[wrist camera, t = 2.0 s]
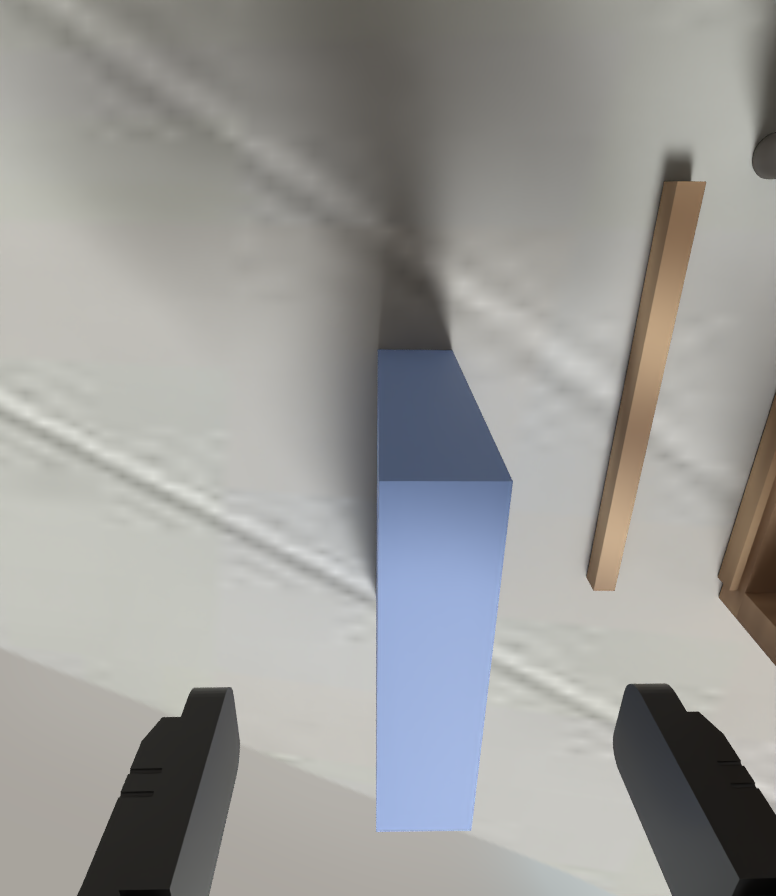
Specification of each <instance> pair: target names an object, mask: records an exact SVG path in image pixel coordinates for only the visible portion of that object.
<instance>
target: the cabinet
mask: <svg viewBox="0 0 776 896" xmlns="http://www.w3.org/2000/svg"><path fill="white" fill-rule="evenodd" d="M753 168H754V171H755V172H756V174H757V175H758V176H759V177H761V178H764V179H776V132H774V133H772V134H769V135H768V136H766V137H765V138H764V139H763V140H762V141H761V142H760V143H759V144H758V146H757V148H756V150H755V152H754V155H753ZM705 186H706V182H695V181H664V185H663V190H662V195H661V200H660V205H659V210H658V216H657V221H656V226H655V231H654V236H653V241H652V246H651V251H650V256H649V261H648V267H647V272H646V277H645V282H644V287H643V292H642V297H641V302H640V307H639V312H638V317H637V323H636V328H635V333H634V338H633V343H632V348H631V353H630V358H629V363H628V368H627V374H626V379H625V384H624V389H623V394H622V399H621V404H620V409H619V414H618V419H617V424H616V430H615V435H614V440H613V445H612V450H611V455H610V460H609V465H608V470H607V475H606V481H605V486H604V491H603V496H602V501H601V506H600V511H599V516H598V521H597V526H596V532H595V537H594V542H593V547H592V552H591V557H590V562H589V567H588V572H587V579H588V581H589V583H590V585H591V587H592V589H593V590H594V591H615V587H616V582H617V578H618V573H619V569H620V564H621V560H622V555H623V551H624V547H625V542H626V538H627V533H628V529H629V524H630V520H631V515H632V511H633V506H634V502H635V498H636V493H637V489H638V484H639V480H640V475H641V471H642V466H643V462H644V457H645V453H646V449H647V444H648V440H649V435H650V431H651V426H652V422H653V417H654V413H655V408H656V404H657V400H658V395H659V391H660V386H661V382H662V377H663V373H664V368H665V364H666V359H667V355H668V351H669V346H670V342H671V337H672V333H673V328H674V324H675V319H676V315H677V310H678V306H679V302H680V297H681V293H682V288H683V284H684V279H685V275H686V270H687V266H688V261H689V257H690V253H691V248H692V244H693V239H694V235H695V230H696V226H697V221H698V217H699V212H700V208H701V204H702V199H703V195H704V190H705ZM718 578H719V579H720V580H721V581H722V583H723V586H722V589H721V592H720V595H719V598H720V600H721V601H722V602H723V603H724V604H725V606H726V607H727V608H728V609H729V610H730V612H731V613H732V614H733V615H734V616H735V618H736V619H737V620H738V621H739V622H740V624H741V625H742V626H743V627H744V628H745V630H746V631H747V632H748V633H749V634H750V636H751V637H752V638H753V639H754V640H755V642H756V643H757V644H758V645H759V646H760V648H761V649H762V650H763V651H764V652H765V654H766V655H767V656H768V657H769V658H770V660H771V661H772V662H773V663H774V664H775V666H776V394H775V398H774V401H773V404H772V407H771V410H770V413H769V417H768V420H767V423H766V426H765V429H764V432H763V436H762V439H761V442H760V445H759V448H758V451H757V455H756V458H755V461H754V464H753V467H752V470H751V474H750V477H749V480H748V483H747V486H746V489H745V493H744V496H743V499H742V502H741V505H740V508H739V512H738V515H737V518H736V521H735V524H734V527H733V531H732V534H731V537H730V540H729V543H728V546H727V550H726V553H725V556H724V559H723V562H722V565H721V569H720V572H719V575H718Z"/></svg>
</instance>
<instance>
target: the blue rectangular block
mask: <svg viewBox="0 0 776 896" xmlns="http://www.w3.org/2000/svg"><path fill="white" fill-rule="evenodd" d="M512 484H513V481H512V479H511V477H510V474H509V472H508V470H507V468H506V466H505V464H504V461H503V459H502V457H501V455H500V453H499V451H498V448H497V446H496V444H495V442H494V440H493V438H492V435H491V433H490V431H489V429H488V427H487V425H486V422H485V420H484V418H483V416H482V414H481V411H480V409H479V407H478V405H477V403H476V401H475V398H474V396H473V394H472V392H471V390H470V388H469V385H468V383H467V381H466V379H465V377H464V375H463V372H462V370H461V368H460V366H459V364H458V362H457V359H456V357H455V355H454V353H453V351H452V350H378V401H377V583H376V831H377V832H386V831H471V828H472V820H473V812H474V803H475V795H476V786H477V778H478V769H479V761H480V753H481V744H482V736H483V727H484V719H485V711H486V702H487V694H488V685H489V677H490V669H491V660H492V652H493V643H494V635H495V627H496V618H497V610H498V601H499V593H500V585H501V576H502V568H503V559H504V551H505V543H506V534H507V526H508V517H509V509H510V501H511V492H512Z"/></svg>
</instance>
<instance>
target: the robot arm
mask: <svg viewBox="0 0 776 896" xmlns="http://www.w3.org/2000/svg"><path fill="white" fill-rule="evenodd" d="M239 749H240V740H239V732H238V724H237V717H236V710H235V702H234V695H233V690H232V688H231V687H217V688H193V689H192V690H191V692H190V694H189V696H188V699H187V702H186V704H185V707H184V710H183V713H182V715H181V717H163V718H161V720H160V721H159V722H158V723H157V724H156V726H154V728H153V729H152V730H151V731H150V732H149V733H148V735H147V736H146V737H145V738H144V739H143V740H142V742H141V744H140V747H139V749H138V752H137V754H136V756H135V759H134V761H133V764H132V766H131V768H130V774H128V776H127V778H126V780H125V783H124V785H123V788H122V790H121V796H120V798H118V800H117V802H116V805H115V807H114V809H113V812H112V814H111V817H110V819H109V821H108V824H107V826H106V829H105V831H104V833H103V836H102V838H101V841H100V843H99V846H98V848H97V851H96V853H95V855H94V858H93V860H92V862H91V865H90V867H89V870H88V872H87V875H86V877H85V879H84V882H83V884H82V886H81V888H80V891H79V893H78V895H77V896H209V893H210V888H211V884H212V879H213V875H214V871H215V866H216V862H217V858H218V854H219V849H220V845H221V840H222V836H223V831H224V827H225V823H226V818H227V814H228V810H229V805H230V801H231V797H232V792H233V788H234V784H235V779H236V775H237V770H238V763H239V752H240V750H239ZM613 750H614V756H615V760H616V764H617V767H618V770H619V772H620V774H621V777H622V779H623V781H624V784H625V786H626V788H627V791H628V793H629V795H630V798H631V800H632V803H633V805H634V807H635V810H636V812H637V814H638V817H639V819H640V821H641V824H642V826H643V828H644V831H645V833H646V835H647V838H648V840H649V842H650V845H651V847H652V849H653V852H654V854H655V856H656V859H657V861H658V863H659V866H660V868H661V870H662V873H663V875H664V877H665V880H666V882H667V884H668V887H669V889H670V892H671V894H672V896H776V814H775V813H774V811H773V810H772V808H771V807H770V805H769V804H768V802H767V800H766V799H765V797H764V796H763V794H762V793H761V791H760V790H759V788H756V787H755V782H754V780H753V779H752V777H751V776H750V774H749V773H748V771H747V770H746V768H745V767H744V766H742V765H741V760H740V759H739V757H738V756H737V754H736V753H735V751H734V750H733V748H732V746H731V745H730V743H729V742H728V740H727V739H726V737H725V736H724V734H723V733H722V732H721V731H719V730H718V729H717V728H716V727H715V726H714V725H713V724H712V723H711V722H710V721H708V720H707V719H706V718H705V717H704V716H703V715H702V714H701V713H700V712H687V711H686V710H685V708H684V706H683V705H682V703H681V701H680V700H679V698H678V696H677V695H676V693H675V692H674V690H673V689H672V688H671V687H670V686H669V685H668V684H629V685H627V686H626V688H625V691H624V695H623V699H622V703H621V707H620V711H619V715H618V719H617V723H616V726H615V730H614V735H613Z"/></svg>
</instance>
